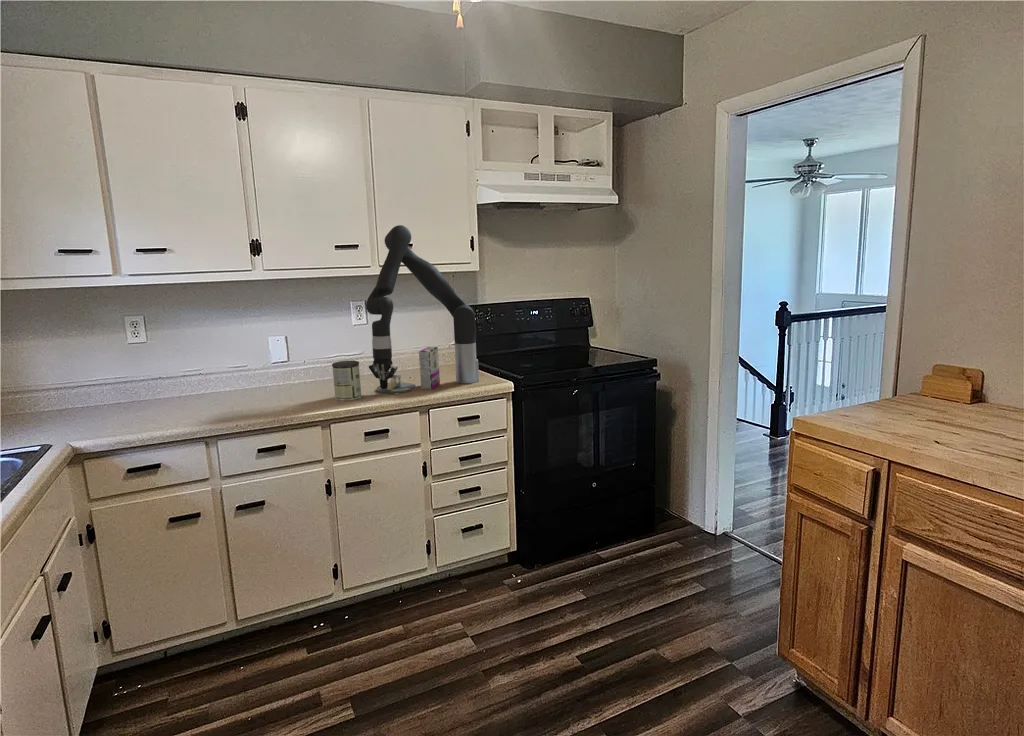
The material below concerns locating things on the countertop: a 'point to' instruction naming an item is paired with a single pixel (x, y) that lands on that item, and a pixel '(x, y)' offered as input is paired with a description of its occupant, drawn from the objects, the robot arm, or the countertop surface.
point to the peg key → (395, 381)
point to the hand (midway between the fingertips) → (384, 388)
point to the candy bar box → (429, 368)
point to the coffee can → (346, 380)
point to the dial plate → (398, 389)
